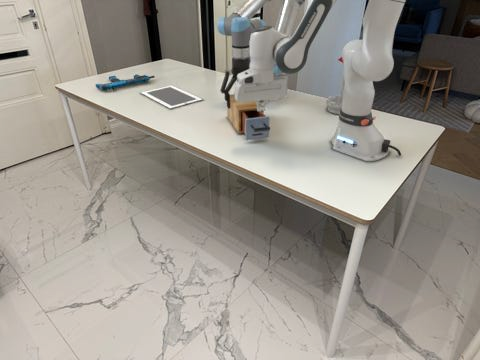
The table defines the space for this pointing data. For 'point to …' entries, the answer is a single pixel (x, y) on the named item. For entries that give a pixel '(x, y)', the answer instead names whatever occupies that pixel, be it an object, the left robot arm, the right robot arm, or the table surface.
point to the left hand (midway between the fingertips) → (240, 106)
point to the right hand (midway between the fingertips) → (261, 110)
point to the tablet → (171, 96)
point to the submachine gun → (123, 82)
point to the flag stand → (336, 98)
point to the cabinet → (239, 111)
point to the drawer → (254, 124)
